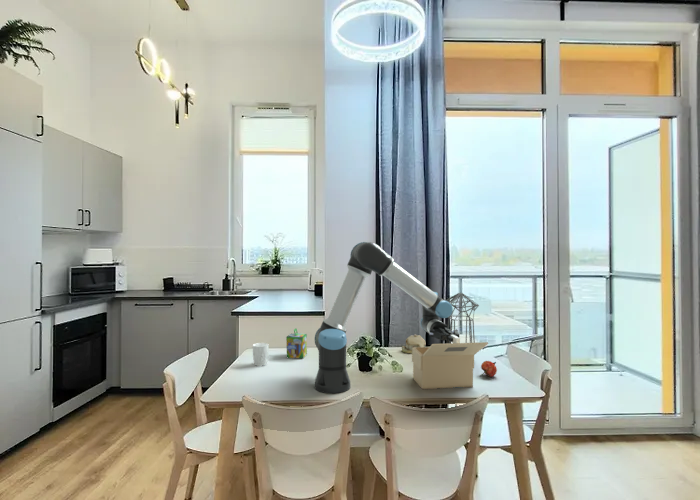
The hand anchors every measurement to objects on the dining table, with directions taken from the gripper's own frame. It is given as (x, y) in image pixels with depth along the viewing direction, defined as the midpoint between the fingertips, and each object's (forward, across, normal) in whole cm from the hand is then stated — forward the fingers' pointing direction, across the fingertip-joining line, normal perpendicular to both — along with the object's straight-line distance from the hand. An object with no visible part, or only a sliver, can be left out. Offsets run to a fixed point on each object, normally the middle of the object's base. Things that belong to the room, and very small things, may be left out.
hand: (458, 341), depth 163 cm
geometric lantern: (-51, -22, -22) cm, 60 cm away
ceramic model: (-69, -3, -22) cm, 73 cm away
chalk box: (-68, +63, -22) cm, 95 cm away
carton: (-17, 0, -22) cm, 28 cm away
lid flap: (-3, 0, -4) cm, 5 cm away
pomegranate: (-23, -24, -22) cm, 40 cm away
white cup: (-55, +81, -22) cm, 100 cm away
